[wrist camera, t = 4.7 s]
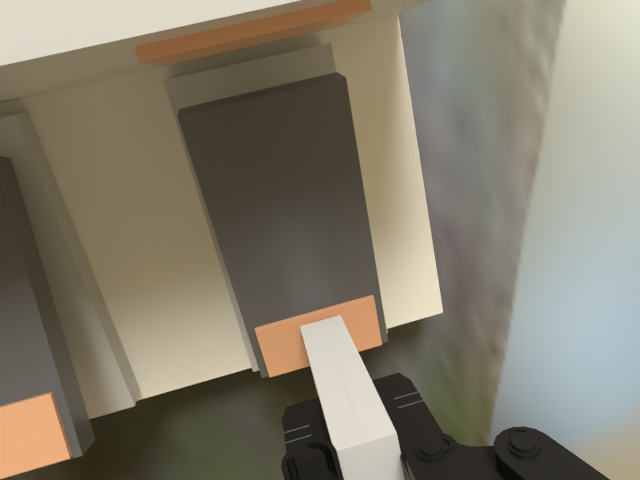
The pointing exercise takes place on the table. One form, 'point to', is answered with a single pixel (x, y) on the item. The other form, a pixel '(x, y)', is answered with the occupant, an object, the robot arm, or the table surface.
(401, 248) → the switch unit
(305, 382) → the table surface
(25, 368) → the switch
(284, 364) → the switch
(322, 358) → the robot arm
